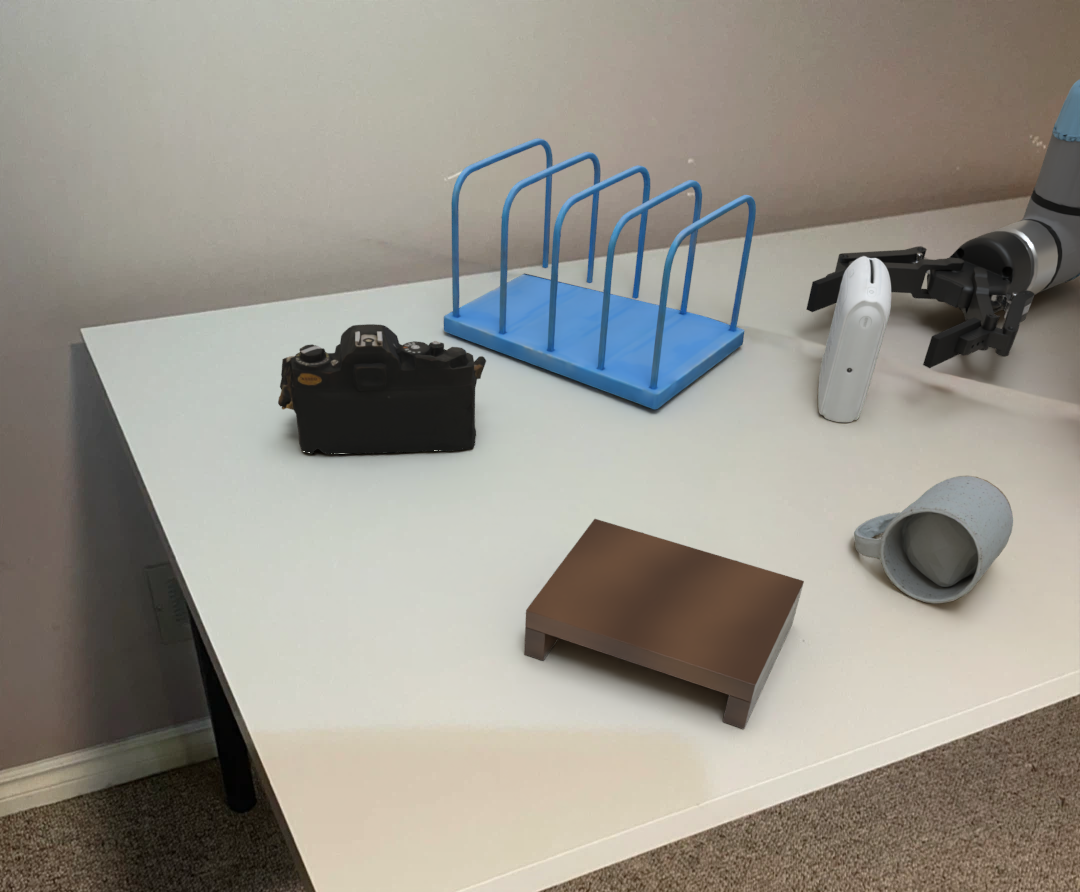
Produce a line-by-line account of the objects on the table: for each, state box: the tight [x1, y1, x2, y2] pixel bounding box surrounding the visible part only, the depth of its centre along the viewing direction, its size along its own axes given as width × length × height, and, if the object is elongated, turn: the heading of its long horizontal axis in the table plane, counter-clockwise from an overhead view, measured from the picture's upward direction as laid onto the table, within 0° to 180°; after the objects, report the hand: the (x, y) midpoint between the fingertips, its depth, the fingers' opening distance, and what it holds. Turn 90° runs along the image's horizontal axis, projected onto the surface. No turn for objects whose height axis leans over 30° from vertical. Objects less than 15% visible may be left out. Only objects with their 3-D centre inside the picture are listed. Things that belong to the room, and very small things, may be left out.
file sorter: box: [443, 137, 757, 410], centre depth 103 cm, size 25×17×15 cm
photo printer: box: [817, 256, 892, 423], centre depth 98 cm, size 10×4×12 cm, turn 168°
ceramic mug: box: [853, 475, 1014, 604], centre depth 81 cm, size 11×8×8 cm
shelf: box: [523, 518, 805, 730], centre depth 75 cm, size 16×12×4 cm
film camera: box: [277, 323, 487, 455], centre depth 91 cm, size 18×12×10 cm
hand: (869, 323), depth 99 cm, fingers open, 13 cm apart
